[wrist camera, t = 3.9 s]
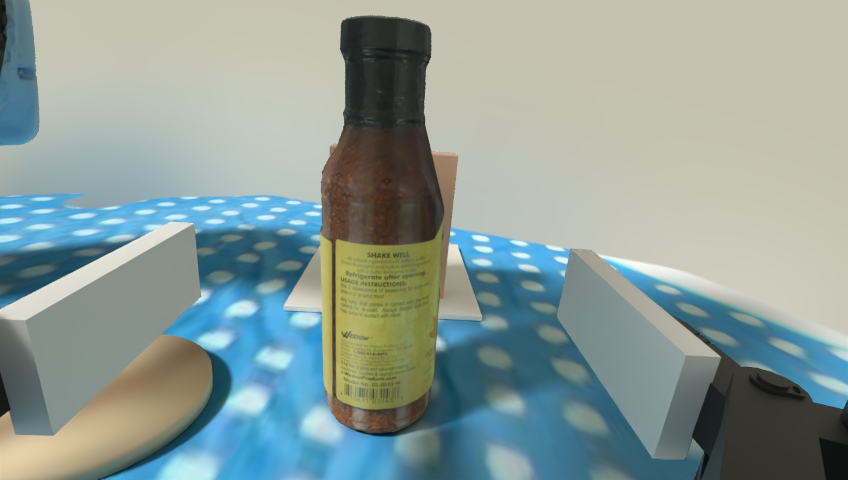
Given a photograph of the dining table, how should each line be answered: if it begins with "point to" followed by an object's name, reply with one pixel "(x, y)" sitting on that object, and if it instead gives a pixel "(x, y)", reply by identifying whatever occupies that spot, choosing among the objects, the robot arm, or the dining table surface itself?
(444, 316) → the white mat
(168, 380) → the cork coaster
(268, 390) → the dining table surface
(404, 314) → the sauce bottle
